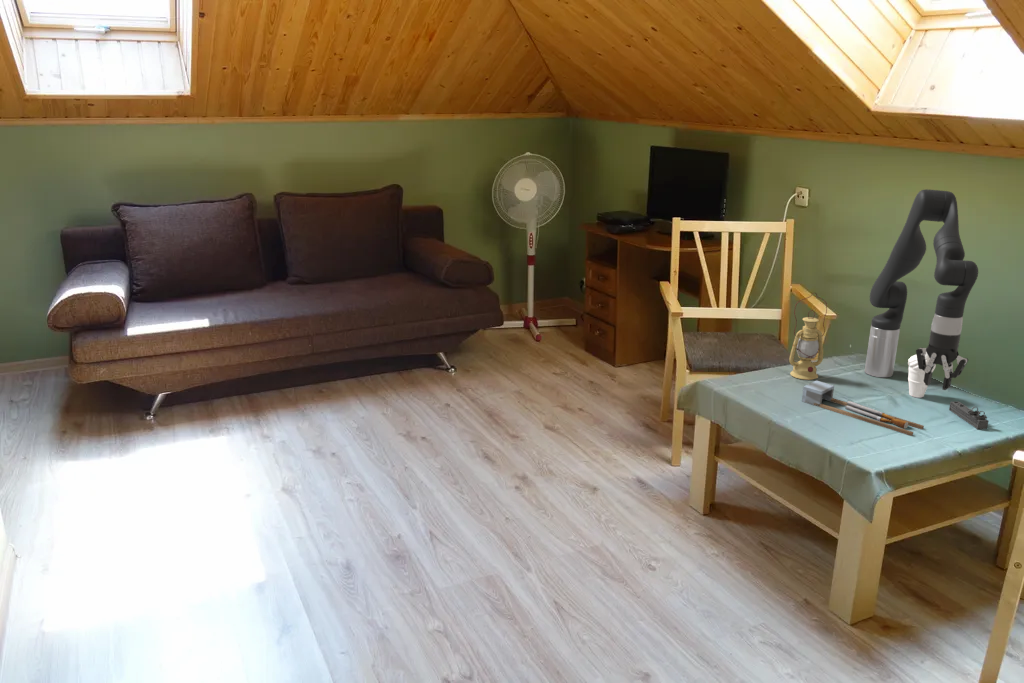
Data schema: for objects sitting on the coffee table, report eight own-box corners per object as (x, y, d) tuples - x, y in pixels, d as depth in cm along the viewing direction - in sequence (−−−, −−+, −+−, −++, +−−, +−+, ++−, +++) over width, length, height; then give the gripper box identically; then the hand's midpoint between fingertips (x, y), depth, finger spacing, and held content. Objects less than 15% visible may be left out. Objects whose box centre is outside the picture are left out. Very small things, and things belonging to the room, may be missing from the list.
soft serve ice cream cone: (905, 398, 266) (912, 352, 261) (900, 389, 274) (907, 344, 269) (933, 401, 264) (941, 354, 259) (927, 391, 272) (934, 346, 267)
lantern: (792, 381, 281) (802, 296, 272) (782, 371, 291) (791, 289, 281) (826, 380, 282) (837, 296, 272) (815, 370, 291) (825, 289, 282)
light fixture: (958, 410, 258) (961, 394, 256) (987, 430, 243) (990, 413, 242) (948, 411, 257) (951, 394, 256) (976, 430, 243) (979, 413, 242)
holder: (814, 395, 269) (816, 380, 267) (923, 428, 244) (926, 412, 242) (801, 401, 264) (803, 386, 262) (911, 435, 239) (914, 419, 237)
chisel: (909, 422, 245) (905, 420, 243) (906, 431, 245) (901, 429, 243) (852, 402, 259) (848, 400, 258) (849, 410, 260) (844, 409, 258)
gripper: (978, 333, 226) (967, 390, 232) (925, 322, 237) (916, 377, 242) (967, 338, 222) (956, 397, 227) (914, 327, 232) (905, 383, 237)
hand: (936, 386), depth 234 cm, fingers open, 4 cm apart
